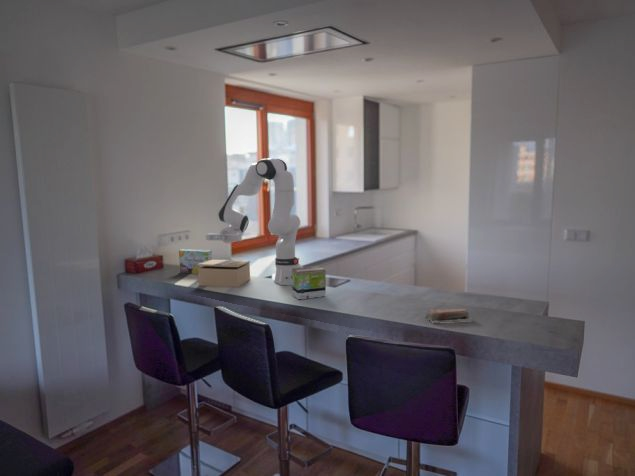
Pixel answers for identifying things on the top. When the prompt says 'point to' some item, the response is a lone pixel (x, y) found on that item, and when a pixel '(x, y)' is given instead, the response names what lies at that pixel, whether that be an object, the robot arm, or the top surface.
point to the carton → (224, 275)
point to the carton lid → (224, 263)
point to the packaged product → (448, 315)
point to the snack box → (193, 259)
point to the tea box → (308, 282)
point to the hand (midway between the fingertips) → (217, 238)
